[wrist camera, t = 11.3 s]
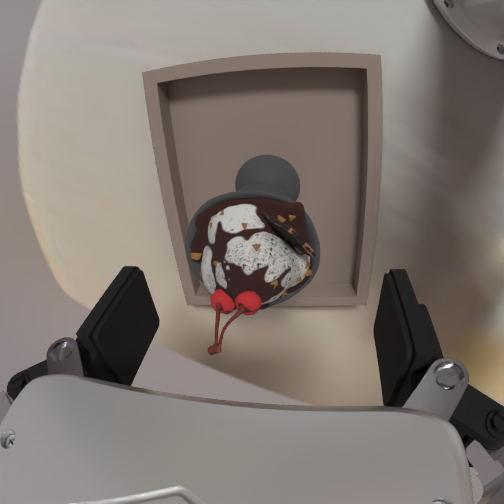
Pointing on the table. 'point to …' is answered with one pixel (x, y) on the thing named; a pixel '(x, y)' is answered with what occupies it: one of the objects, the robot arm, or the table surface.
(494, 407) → the robot arm
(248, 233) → the sundae
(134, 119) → the table surface
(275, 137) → the tray
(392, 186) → the table surface
